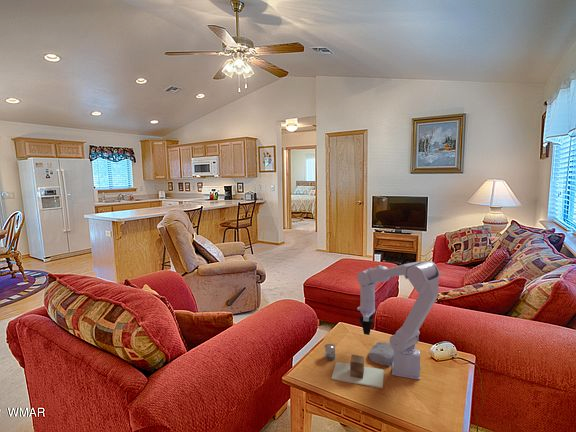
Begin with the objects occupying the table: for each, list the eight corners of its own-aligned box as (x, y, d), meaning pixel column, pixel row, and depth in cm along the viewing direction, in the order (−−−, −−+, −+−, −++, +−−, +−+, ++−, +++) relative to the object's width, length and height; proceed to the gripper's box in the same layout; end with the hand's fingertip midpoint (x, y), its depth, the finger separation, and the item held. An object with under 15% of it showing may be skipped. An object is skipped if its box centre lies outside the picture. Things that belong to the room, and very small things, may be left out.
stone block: (367, 364, 128) (392, 368, 122) (365, 352, 128) (389, 355, 122) (378, 351, 137) (401, 353, 131) (376, 340, 137) (399, 342, 131)
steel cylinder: (336, 355, 131) (335, 344, 130) (334, 361, 127) (334, 349, 127) (326, 354, 132) (326, 342, 132) (324, 359, 129) (324, 348, 128)
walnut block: (364, 371, 120) (364, 356, 119) (362, 378, 116) (362, 363, 115) (351, 369, 121) (351, 354, 120) (350, 376, 117) (350, 361, 116)
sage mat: (383, 370, 120) (383, 369, 120) (382, 388, 111) (382, 387, 111) (336, 363, 126) (336, 361, 126) (331, 379, 117) (331, 378, 117)
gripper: (359, 290, 138) (359, 320, 140) (355, 305, 125) (355, 337, 127) (376, 292, 136) (376, 322, 138) (374, 306, 122) (373, 339, 125)
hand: (367, 329), depth 132 cm, fingers open, 7 cm apart
